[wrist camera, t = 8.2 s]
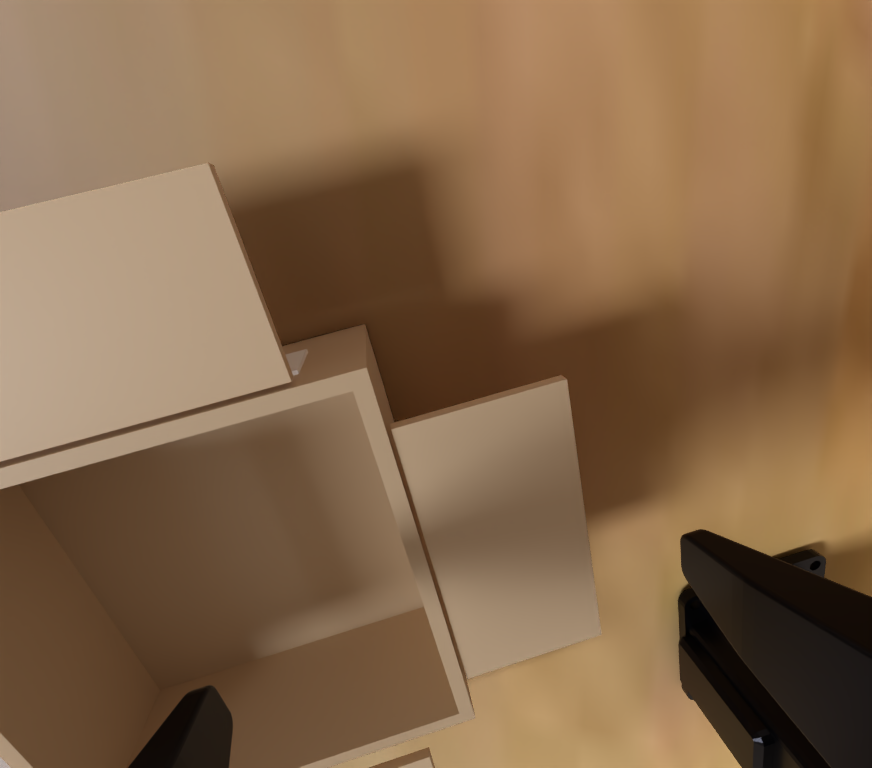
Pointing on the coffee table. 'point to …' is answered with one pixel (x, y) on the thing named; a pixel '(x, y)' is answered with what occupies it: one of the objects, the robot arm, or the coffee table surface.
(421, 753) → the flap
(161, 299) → the carton
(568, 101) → the coffee table surface
